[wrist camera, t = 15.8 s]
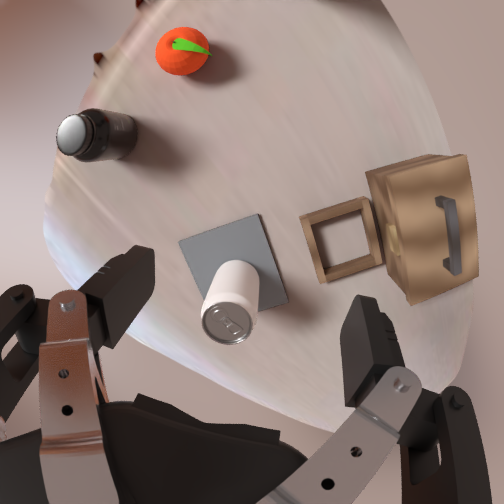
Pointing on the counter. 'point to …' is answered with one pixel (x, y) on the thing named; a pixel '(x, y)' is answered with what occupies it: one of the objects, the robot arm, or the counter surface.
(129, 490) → the robot arm
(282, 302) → the mat
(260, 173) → the counter surface
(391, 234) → the toolbox
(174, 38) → the clementine
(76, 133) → the supplement bottle
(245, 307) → the can
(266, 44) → the counter surface
